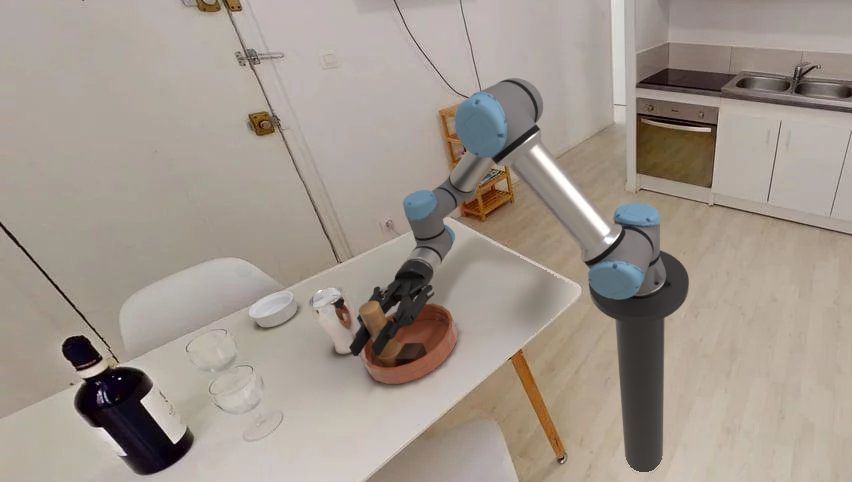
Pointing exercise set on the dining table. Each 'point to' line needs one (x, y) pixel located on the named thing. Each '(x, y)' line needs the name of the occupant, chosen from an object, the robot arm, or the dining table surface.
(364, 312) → the muddler
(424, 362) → the bowl
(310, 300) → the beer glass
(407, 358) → the walnut block
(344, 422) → the dining table surface
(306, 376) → the dining table surface
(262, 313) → the ramekin
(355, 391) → the dining table surface
